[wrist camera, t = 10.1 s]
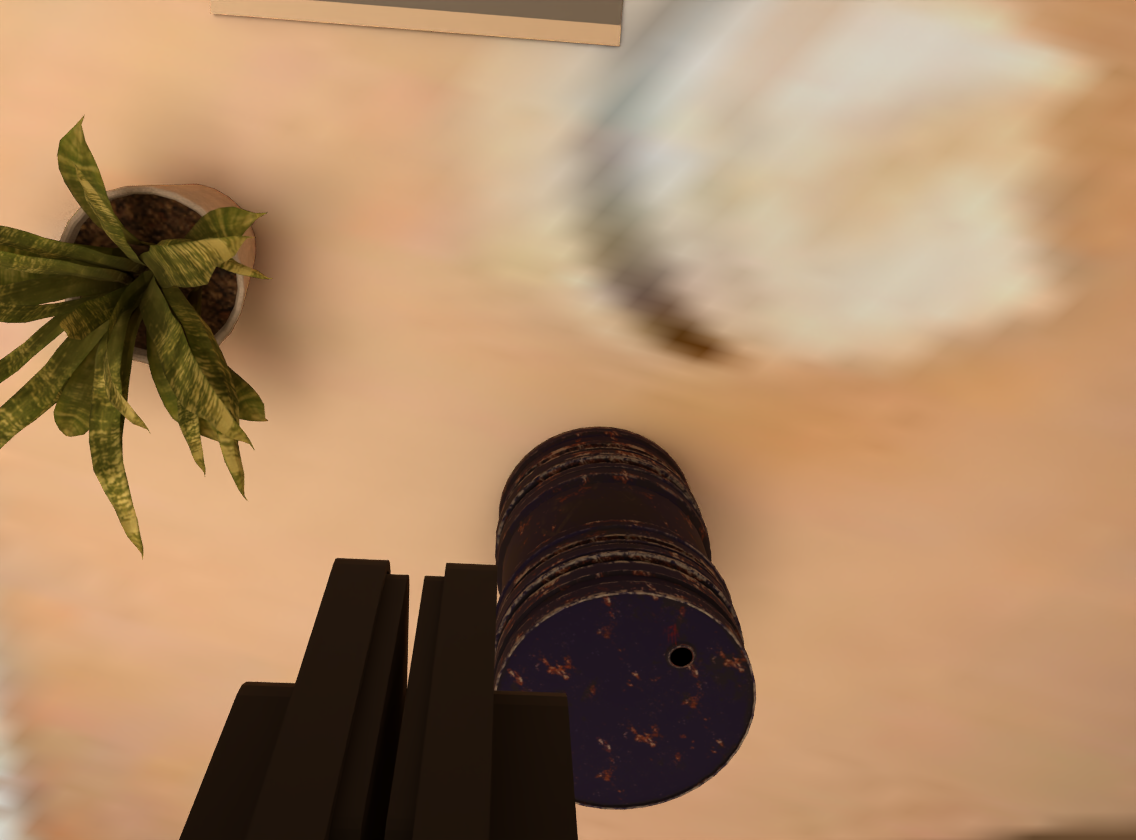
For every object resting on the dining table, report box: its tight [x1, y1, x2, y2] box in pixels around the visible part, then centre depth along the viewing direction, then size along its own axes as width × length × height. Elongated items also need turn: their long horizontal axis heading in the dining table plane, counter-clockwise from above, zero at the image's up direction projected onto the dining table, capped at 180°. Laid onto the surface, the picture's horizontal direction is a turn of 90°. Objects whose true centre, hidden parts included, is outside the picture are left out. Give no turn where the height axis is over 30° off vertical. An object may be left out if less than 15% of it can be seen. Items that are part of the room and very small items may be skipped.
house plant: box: [0, 116, 272, 560], centre depth 39 cm, size 14×14×16 cm
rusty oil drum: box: [494, 427, 756, 809], centre depth 45 cm, size 10×10×15 cm
